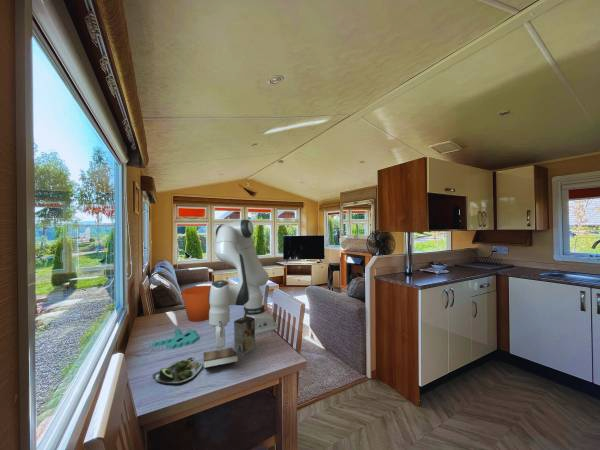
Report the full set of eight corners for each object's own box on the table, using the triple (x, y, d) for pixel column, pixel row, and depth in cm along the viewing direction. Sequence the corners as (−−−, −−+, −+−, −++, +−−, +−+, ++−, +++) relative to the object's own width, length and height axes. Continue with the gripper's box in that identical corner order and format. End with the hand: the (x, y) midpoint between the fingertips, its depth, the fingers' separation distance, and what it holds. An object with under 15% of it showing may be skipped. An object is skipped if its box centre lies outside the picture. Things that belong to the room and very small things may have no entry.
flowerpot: (211, 324, 168) (211, 294, 168) (174, 324, 168) (174, 294, 168) (223, 311, 193) (223, 285, 193) (190, 311, 193) (190, 285, 193)
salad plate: (176, 359, 124) (176, 350, 124) (210, 362, 121) (210, 353, 121) (146, 384, 105) (146, 372, 105) (185, 388, 102) (185, 377, 102)
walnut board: (232, 351, 131) (232, 347, 131) (234, 359, 123) (234, 355, 123) (203, 356, 126) (203, 352, 126) (203, 365, 118) (203, 361, 118)
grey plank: (235, 360, 122) (234, 356, 122) (237, 361, 114) (237, 356, 115) (204, 366, 116) (203, 361, 117) (204, 367, 109) (204, 362, 110)
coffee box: (246, 345, 138) (246, 315, 138) (255, 347, 135) (255, 317, 135) (233, 352, 130) (233, 320, 130) (242, 355, 127) (242, 323, 127)
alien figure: (151, 347, 137) (184, 350, 133) (151, 343, 137) (184, 346, 133) (176, 332, 156) (205, 334, 152) (176, 328, 156) (205, 331, 152)
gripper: (228, 325, 105) (228, 359, 105) (224, 310, 124) (224, 339, 124) (212, 327, 103) (212, 361, 102) (211, 311, 122) (210, 340, 121)
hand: (218, 349), depth 113 cm, fingers closed
